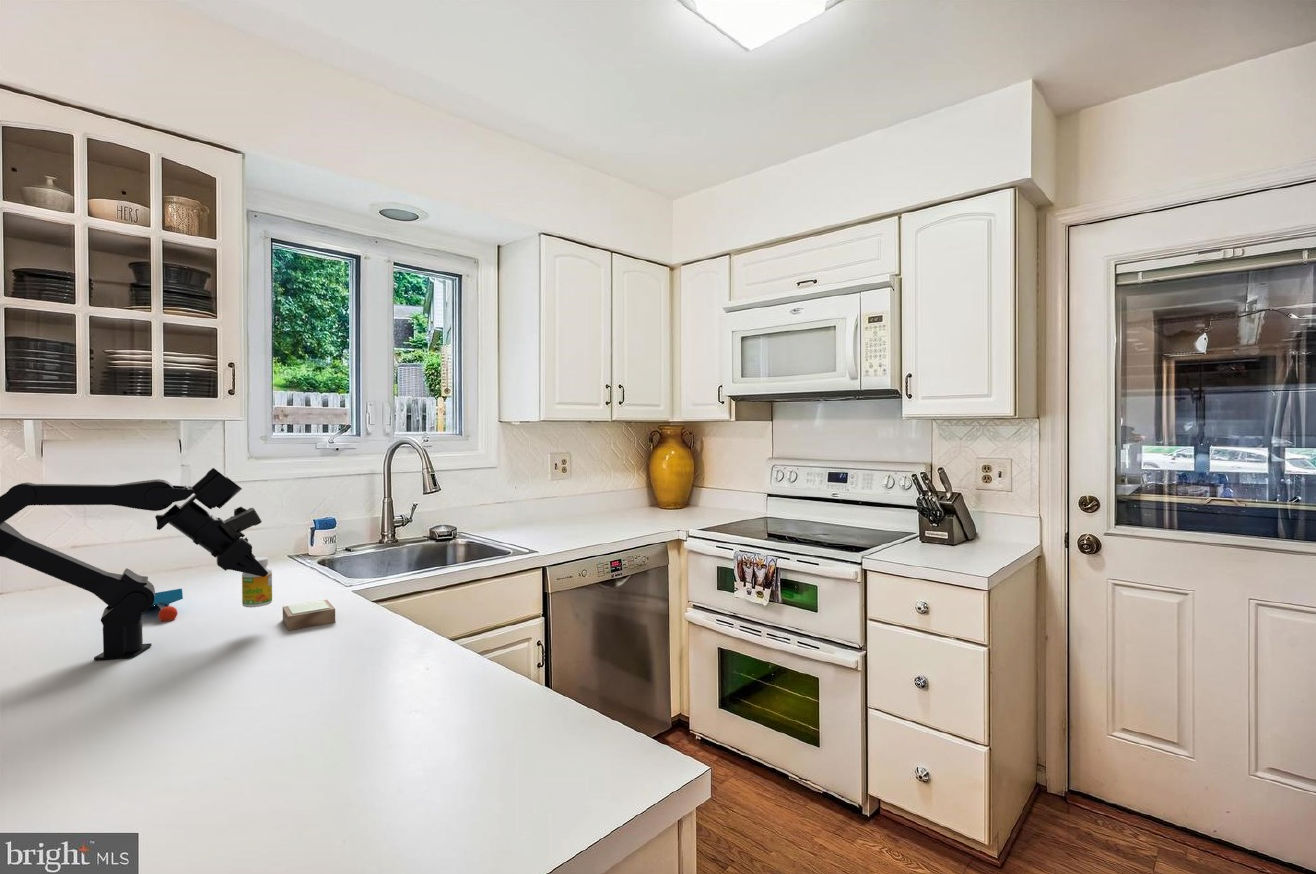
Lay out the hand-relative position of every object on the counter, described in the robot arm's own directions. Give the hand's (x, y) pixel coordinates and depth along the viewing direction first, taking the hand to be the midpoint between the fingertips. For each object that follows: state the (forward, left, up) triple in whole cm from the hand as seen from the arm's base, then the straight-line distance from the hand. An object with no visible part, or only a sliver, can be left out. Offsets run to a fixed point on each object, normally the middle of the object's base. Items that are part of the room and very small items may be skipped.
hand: (264, 572), depth 134 cm
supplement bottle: (-1, +1, -7) cm, 7 cm away
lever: (+18, +29, -13) cm, 36 cm away
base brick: (+4, -7, -12) cm, 15 cm away
